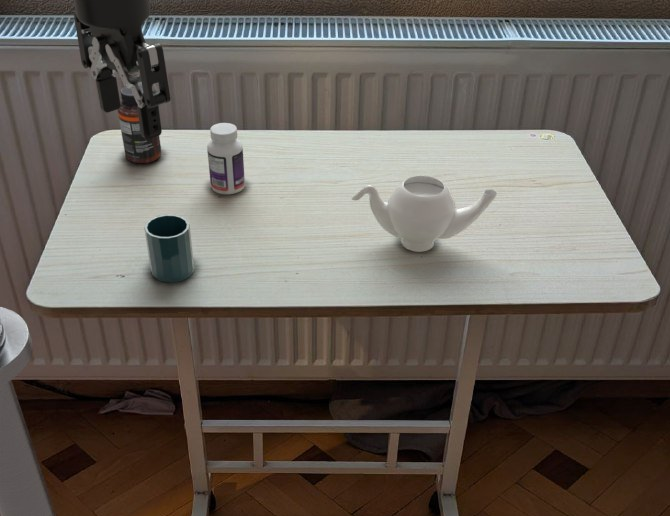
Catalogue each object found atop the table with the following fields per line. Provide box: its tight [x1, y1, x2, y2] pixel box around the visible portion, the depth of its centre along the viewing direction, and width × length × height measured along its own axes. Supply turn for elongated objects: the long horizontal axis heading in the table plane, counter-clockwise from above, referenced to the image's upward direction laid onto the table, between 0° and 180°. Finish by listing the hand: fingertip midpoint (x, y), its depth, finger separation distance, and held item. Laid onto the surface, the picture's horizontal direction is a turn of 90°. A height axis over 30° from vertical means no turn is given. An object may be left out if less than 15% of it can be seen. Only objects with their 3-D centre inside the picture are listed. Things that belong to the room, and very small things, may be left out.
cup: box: [143, 214, 195, 283], centre depth 112 cm, size 6×6×7 cm
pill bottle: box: [206, 122, 246, 195], centre depth 128 cm, size 5×5×10 cm
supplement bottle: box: [117, 84, 162, 164], centre depth 134 cm, size 6×6×11 cm
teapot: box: [350, 175, 497, 253], centre depth 118 cm, size 10×20×9 cm, turn 82°
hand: (131, 123), depth 94 cm, fingers open, 8 cm apart
